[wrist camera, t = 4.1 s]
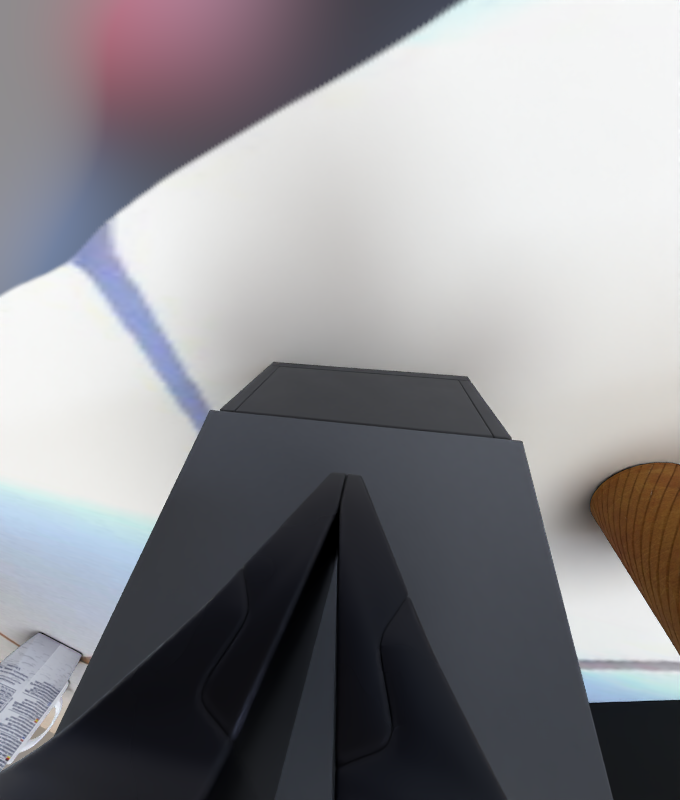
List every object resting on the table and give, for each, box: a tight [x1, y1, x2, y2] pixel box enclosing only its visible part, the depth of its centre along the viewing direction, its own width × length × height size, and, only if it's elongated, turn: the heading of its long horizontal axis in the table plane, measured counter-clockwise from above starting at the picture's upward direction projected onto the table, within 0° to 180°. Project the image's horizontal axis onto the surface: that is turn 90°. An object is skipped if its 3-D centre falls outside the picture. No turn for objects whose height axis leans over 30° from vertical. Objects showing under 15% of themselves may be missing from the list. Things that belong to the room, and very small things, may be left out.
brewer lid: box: [54, 410, 613, 800], centre depth 7 cm, size 14×12×1 cm
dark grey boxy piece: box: [220, 362, 511, 440], centre depth 17 cm, size 13×12×7 cm
